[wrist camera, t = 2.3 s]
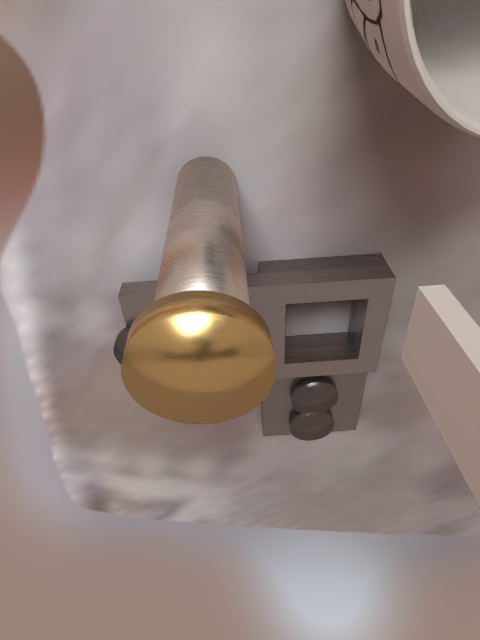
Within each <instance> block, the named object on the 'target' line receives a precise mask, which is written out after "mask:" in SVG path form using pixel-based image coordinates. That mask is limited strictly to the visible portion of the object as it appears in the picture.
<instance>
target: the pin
mask: <svg viewBox="0 0 480 640" xmlns="http://www.w3.org/2000/svg"><path fill="white" fill-rule="evenodd" d="M121 375H122V379H123V382H124V385H125V387H126V389H127V390H128V392H129V394H130V395H131V396H132V397H133V398H134V400H135V401H137V402H138V403H139V404H140V405H141V406H142V407H144V408H145V409H147V410H148V411H150V412H152V413H154V414H156V415H158V416H160V417H163V418H166V419H169V420H172V421H177V422H182V423H190V424H209V423H217V422H222V421H226V420H230V419H233V418H236V417H238V416H241V415H243V414H245V413H247V412H249V411H250V410H252V409H253V408H255V407H256V406H257V405H258V404H260V403H261V402H262V401H263V400H264V399H265V398H266V396H267V395H268V394H269V392H270V391H271V389H272V387H273V385H274V381H275V378H276V361H275V355H274V349H273V343H272V337H271V333H270V330H269V328H268V326H267V324H266V322H265V321H264V319H263V318H262V316H261V315H260V314H259V313H258V312H257V311H256V310H255V309H253V308H252V307H251V306H250V302H249V293H248V284H247V275H246V266H245V257H244V248H243V239H242V230H241V221H240V212H239V203H238V194H237V185H236V179H235V176H234V174H233V172H232V170H231V169H230V168H229V167H228V166H227V165H226V164H225V163H224V162H222V161H221V160H219V159H216V158H213V157H198V158H195V159H193V160H191V161H189V162H188V163H186V164H185V165H184V166H183V167H182V169H181V170H180V172H179V174H178V177H177V182H176V187H175V192H174V198H173V203H172V208H171V214H170V219H169V224H168V229H167V235H166V240H165V245H164V251H163V256H162V261H161V266H160V272H159V277H158V282H157V288H156V293H155V298H154V302H153V303H151V304H150V305H148V306H147V307H146V308H145V309H144V310H142V311H141V312H140V313H139V315H138V316H137V317H136V318H135V320H134V322H133V323H132V325H131V327H130V330H129V333H128V337H127V341H126V345H125V350H124V354H123V358H122V363H121Z"/></svg>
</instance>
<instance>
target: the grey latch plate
mask: <svg viewBox="0 0 480 640" xmlns="http://www.w3.org/2000/svg"><path fill="white" fill-rule="evenodd" d="M384 265H388V264H387V262H386V261H385V259H384V257H383V256H382V254H370V255H355V256H340V257H325V258H310V259H295V260H279V261H264V262H258V269H259V274H264V273H279V272H294V271H309V270H324V269H339V268H354V267H369V266H384ZM359 304H360V299H357V300H353V302H352V309H351V315H350V322H349V329H348V332H345V333H331V334H316V335H301V336H287V337H285V350H289V349H303V348H318V347H333V346H347V345H353V342H354V335H355V329H356V323H357V317H358V310H359ZM366 375H367V373H354V374H339V375H325V376H310V377H295V378H281V379H275V381H274V385H273V387H272V389H271V391H270V392H269V394H268V395H267V396H266V398H265V399H264V400H263V401H262V425H263V435H264V436H272V435H286V434H292V435H293V436H295V437H296V438H298V439H301V440H317V439H320V438H323V437H325V436H327V435H328V434H329V433H330V432H331V431H344V430H356V425H357V420H358V415H359V410H360V405H361V400H362V395H363V390H364V385H365V380H366Z"/></svg>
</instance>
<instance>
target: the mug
mask: <svg viewBox="0 0 480 640" xmlns="http://www.w3.org/2000/svg"><path fill="white" fill-rule="evenodd" d="M345 2H346V6H347V9H348V11H349V14H350V16H351V18H352V20H353V22H354V24H355V26H356V28H357V29H358V31H359V33H360V35H361V37H362V39H363V40H364V42H365V44H366V45H367V47H368V49H369V50H370V52H371V53H372V55H373V56H374V57H375V59H376V60H377V61H378V62H379V63H380V65H381V66H382V67H383V68H384V69H385V70H386V71H387V72H388V73H389V74H390V75H391V76H392V77H393V78H394V79H395V80H396V81H397V82H398V83H399V84H401V85H402V86H403V87H404V88H405V89H406V90H408V91H409V92H410V93H411V94H412V95H414V96H415V97H416V98H417V99H418V100H420V101H421V102H422V103H423V104H424V105H425V106H427V107H428V108H429V109H430V110H431V111H433V112H434V113H435V114H436V115H437V116H439V117H440V118H442V119H443V120H444V121H446V122H447V123H449V124H451V125H452V126H454V127H456V128H457V129H459V130H461V131H463V132H466V133H468V134H470V135H473V136H475V137H477V138H480V0H345Z"/></svg>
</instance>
